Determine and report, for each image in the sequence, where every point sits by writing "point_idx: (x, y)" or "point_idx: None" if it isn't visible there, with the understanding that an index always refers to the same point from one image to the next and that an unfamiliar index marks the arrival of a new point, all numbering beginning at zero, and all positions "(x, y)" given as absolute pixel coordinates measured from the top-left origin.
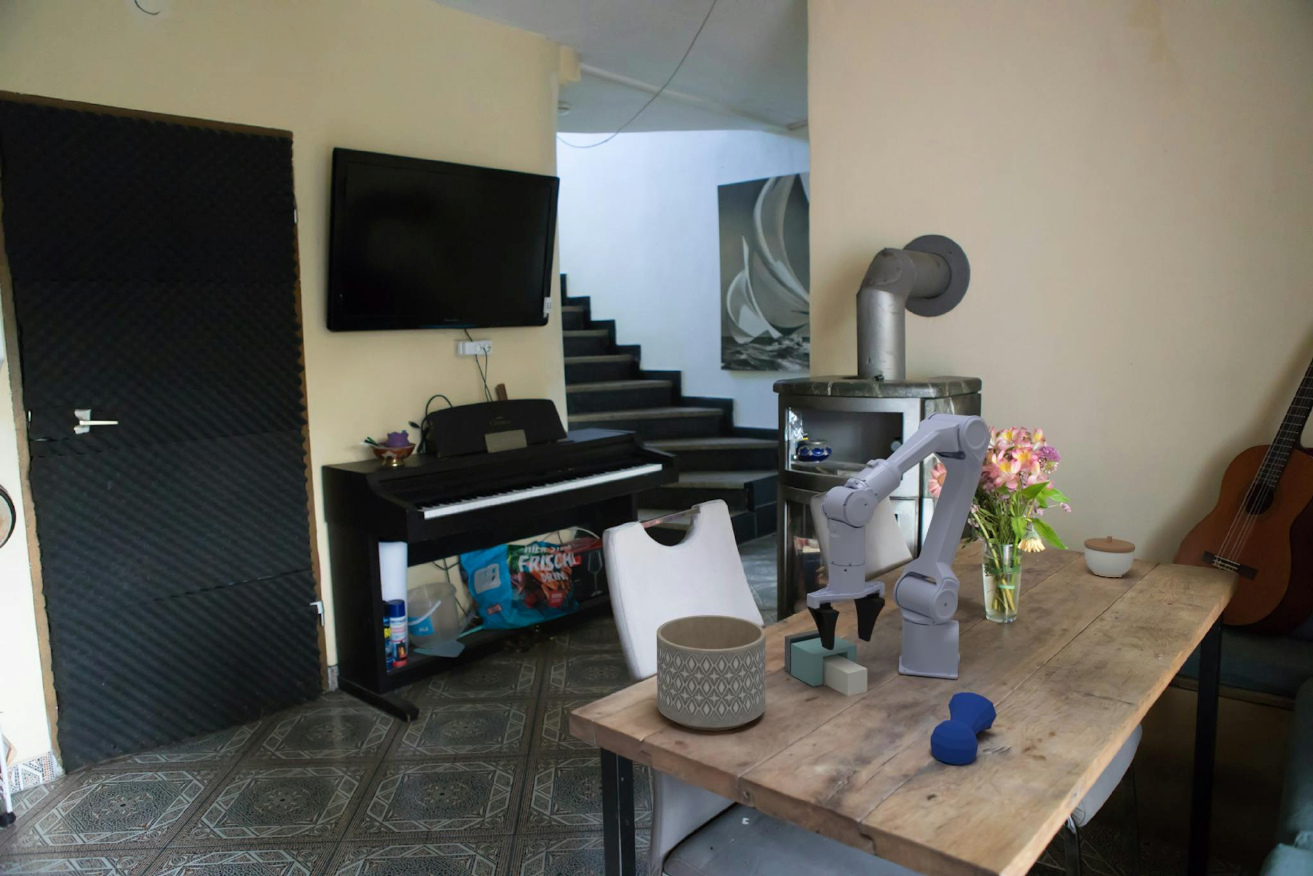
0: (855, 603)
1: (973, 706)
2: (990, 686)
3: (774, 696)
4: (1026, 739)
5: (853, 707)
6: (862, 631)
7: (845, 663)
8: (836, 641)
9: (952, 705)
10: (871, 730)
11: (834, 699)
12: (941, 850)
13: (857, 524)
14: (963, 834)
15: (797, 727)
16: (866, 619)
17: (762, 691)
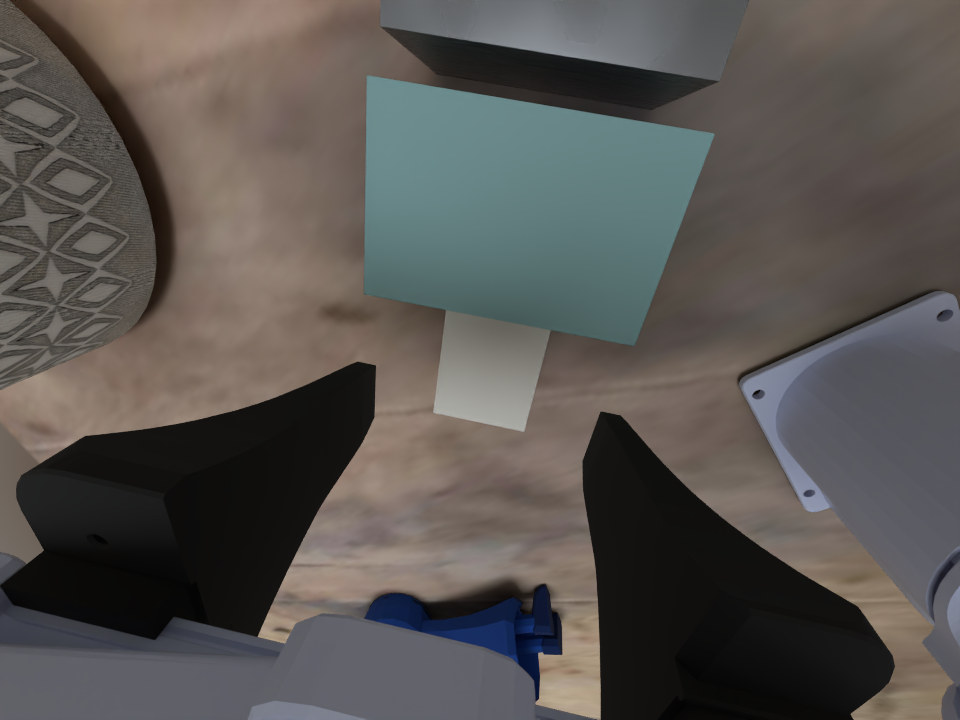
0: (677, 554)
1: None
2: (807, 566)
3: (251, 223)
4: (559, 661)
5: (407, 421)
6: (598, 465)
7: (503, 353)
8: (612, 239)
9: (486, 642)
10: (353, 502)
11: (401, 360)
12: None
13: None
14: None
15: (212, 401)
16: (609, 552)
17: (51, 366)
